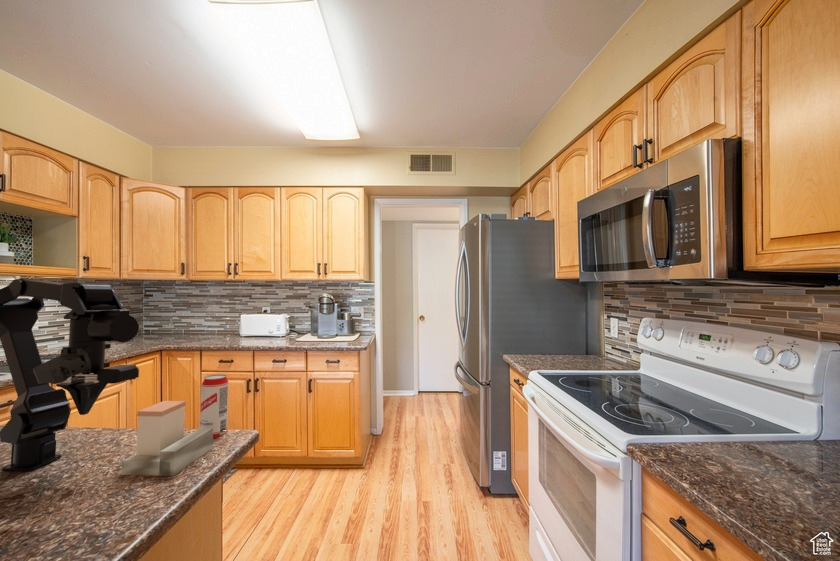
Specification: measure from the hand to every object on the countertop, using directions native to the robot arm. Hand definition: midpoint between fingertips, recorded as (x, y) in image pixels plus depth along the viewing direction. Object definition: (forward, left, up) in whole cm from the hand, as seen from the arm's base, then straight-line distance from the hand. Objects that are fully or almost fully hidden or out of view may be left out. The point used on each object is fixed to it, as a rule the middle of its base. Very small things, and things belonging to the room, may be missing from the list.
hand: (84, 414), depth 73 cm
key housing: (+15, +3, -12) cm, 19 cm away
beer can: (+17, +18, -12) cm, 28 cm away
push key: (+15, +3, -11) cm, 18 cm away
